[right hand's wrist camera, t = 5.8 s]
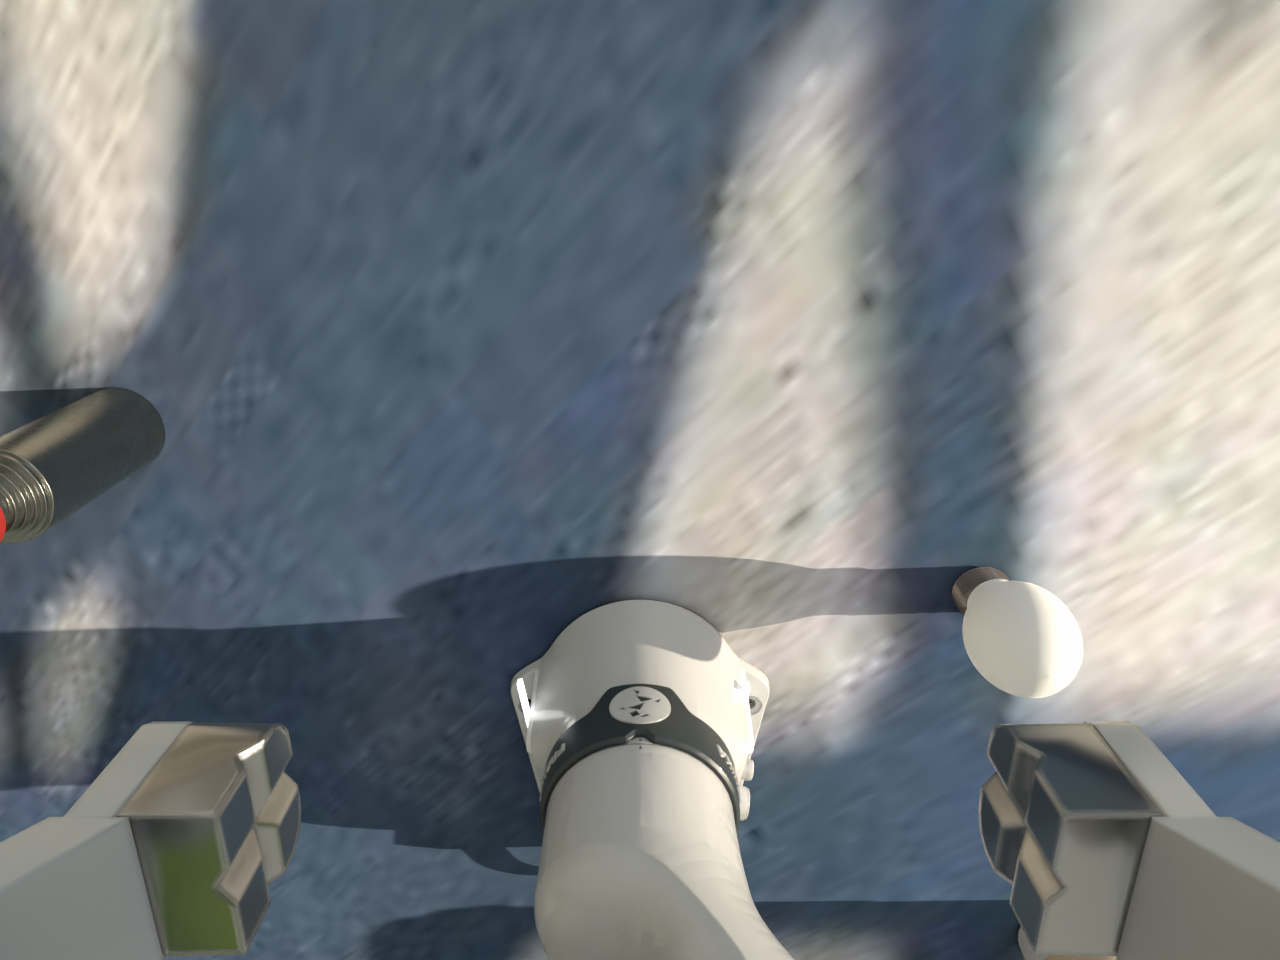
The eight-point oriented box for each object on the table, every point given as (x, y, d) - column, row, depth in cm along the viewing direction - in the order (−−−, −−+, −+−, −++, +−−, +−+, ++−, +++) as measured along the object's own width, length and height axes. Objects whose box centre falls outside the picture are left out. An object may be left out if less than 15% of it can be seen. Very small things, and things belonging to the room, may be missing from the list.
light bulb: (925, 626, 64) (980, 719, 54) (945, 540, 62) (1006, 621, 52) (1018, 634, 65) (1090, 728, 54) (1042, 548, 62) (1122, 630, 52)
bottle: (123, 481, 61) (-50, 597, 45) (62, 417, 59) (-139, 514, 44) (182, 438, 60) (25, 541, 44) (121, 371, 58) (-64, 454, 43)
